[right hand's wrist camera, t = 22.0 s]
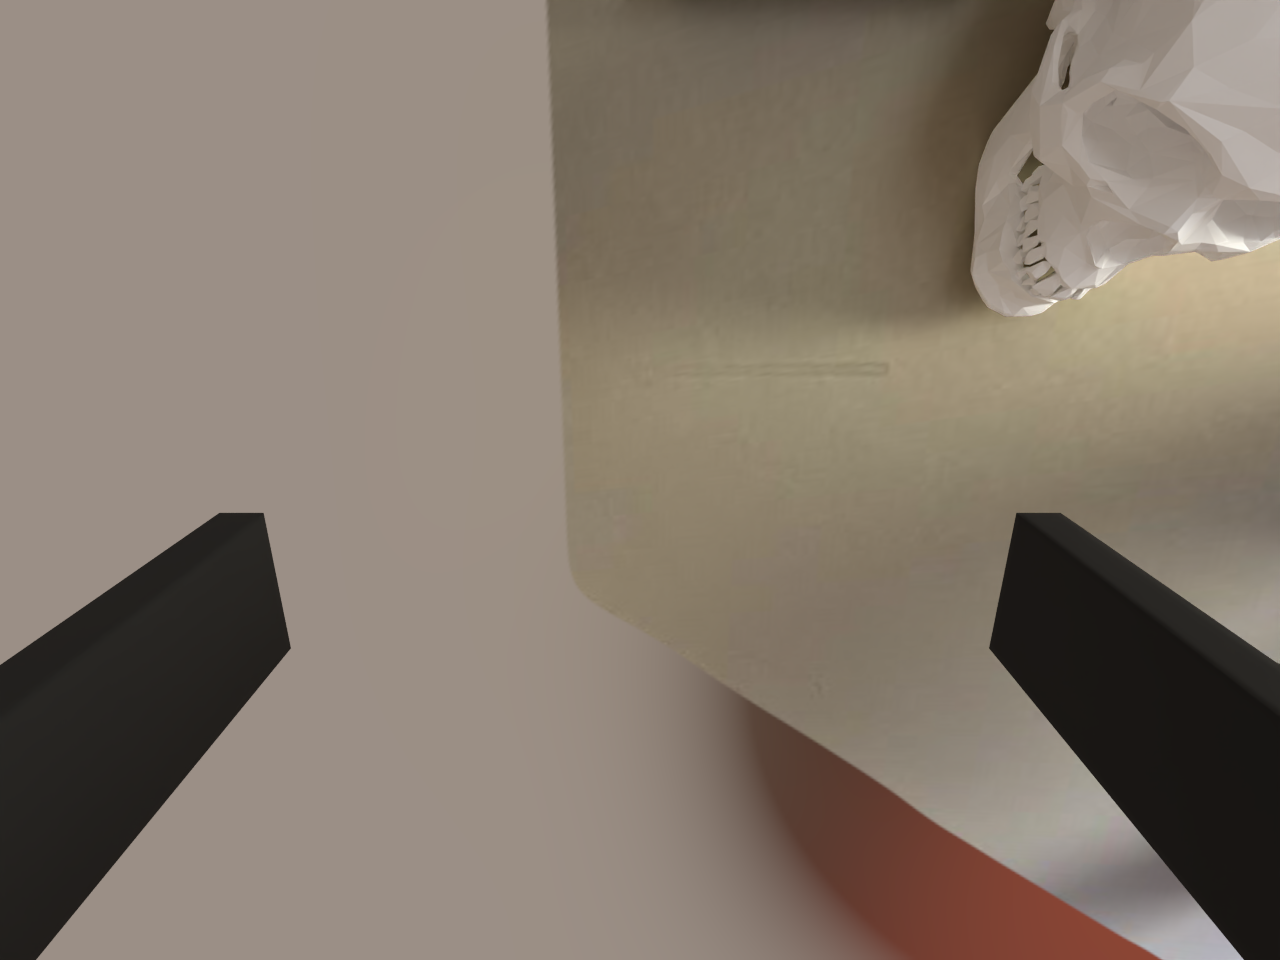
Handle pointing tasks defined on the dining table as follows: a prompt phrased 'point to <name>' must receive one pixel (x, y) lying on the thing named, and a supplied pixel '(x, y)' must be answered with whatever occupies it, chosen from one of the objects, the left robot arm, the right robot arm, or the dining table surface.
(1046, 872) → the dining table surface
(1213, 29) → the skull
